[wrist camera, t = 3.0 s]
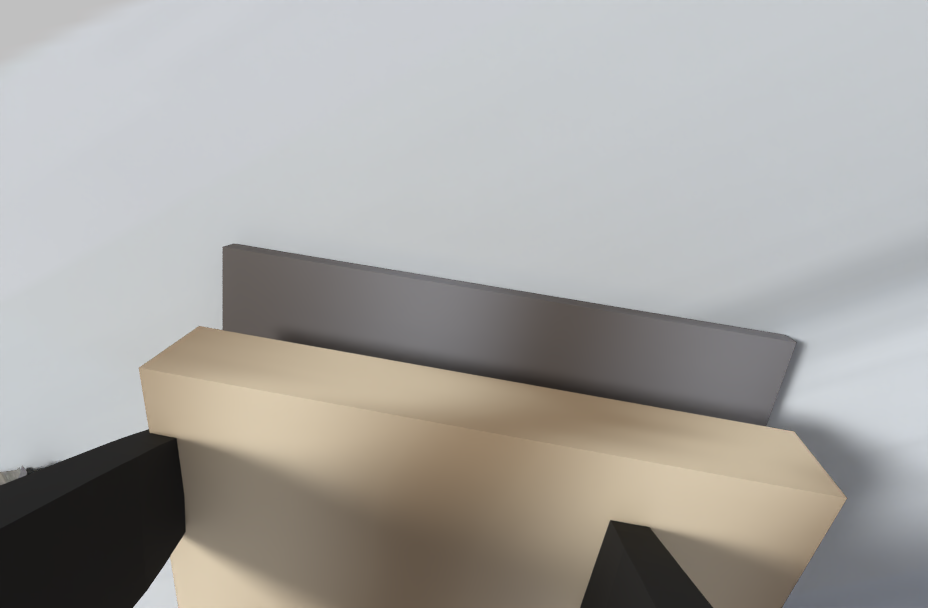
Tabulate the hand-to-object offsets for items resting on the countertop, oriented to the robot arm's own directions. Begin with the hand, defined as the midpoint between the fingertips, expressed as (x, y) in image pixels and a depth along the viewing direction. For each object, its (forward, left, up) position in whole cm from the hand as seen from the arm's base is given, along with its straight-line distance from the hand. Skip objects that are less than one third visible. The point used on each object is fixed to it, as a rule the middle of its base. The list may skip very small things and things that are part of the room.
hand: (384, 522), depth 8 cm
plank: (-1, +1, -2) cm, 3 cm away
